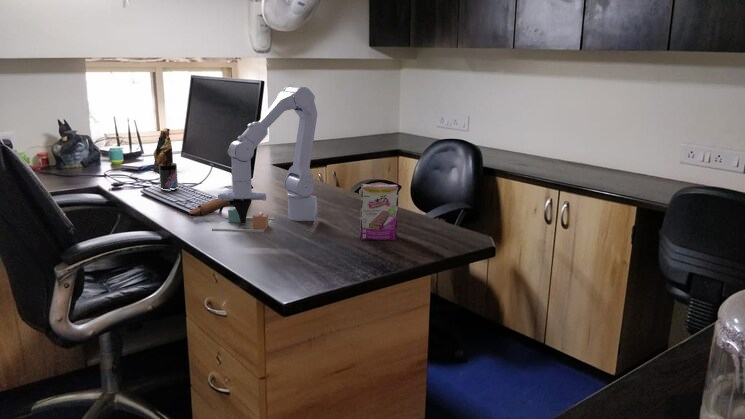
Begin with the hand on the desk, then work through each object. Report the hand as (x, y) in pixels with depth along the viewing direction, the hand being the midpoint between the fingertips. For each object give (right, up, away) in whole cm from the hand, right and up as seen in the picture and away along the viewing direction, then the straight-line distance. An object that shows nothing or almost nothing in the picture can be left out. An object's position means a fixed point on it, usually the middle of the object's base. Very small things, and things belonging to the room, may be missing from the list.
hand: (243, 222), depth 192 cm
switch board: (0, -2, +3) cm, 4 cm away
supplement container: (-41, +12, +56) cm, 70 cm away
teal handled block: (-4, 0, +7) cm, 8 cm away
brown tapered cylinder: (-17, +2, +22) cm, 28 cm away
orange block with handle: (+6, -1, 0) cm, 6 cm away
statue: (-55, +21, +91) cm, 109 cm away
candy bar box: (+42, -5, -5) cm, 43 cm away
